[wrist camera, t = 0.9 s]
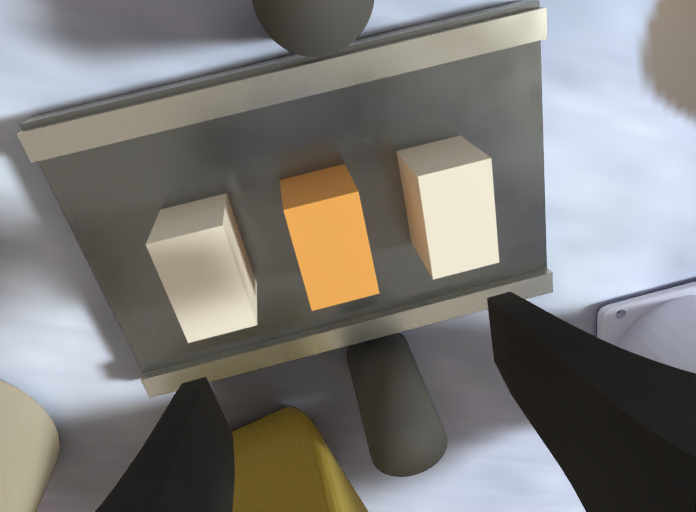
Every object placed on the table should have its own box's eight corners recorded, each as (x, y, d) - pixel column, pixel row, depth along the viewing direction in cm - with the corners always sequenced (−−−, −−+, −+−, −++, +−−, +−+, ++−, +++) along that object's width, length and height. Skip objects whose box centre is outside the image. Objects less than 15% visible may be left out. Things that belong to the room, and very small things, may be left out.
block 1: (226, 193, 20) (222, 225, 17) (256, 283, 22) (257, 325, 19) (160, 209, 20) (145, 244, 17) (196, 298, 22) (188, 342, 19)
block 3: (460, 135, 20) (491, 157, 18) (469, 229, 22) (499, 262, 19) (396, 151, 20) (417, 176, 17) (411, 244, 22) (432, 279, 19)
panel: (523, -1, 20) (546, 1, 18) (535, 277, 25) (552, 295, 24) (32, 116, 19) (13, 127, 17) (157, 375, 24) (151, 401, 23)
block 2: (344, 164, 20) (358, 191, 17) (364, 256, 22) (379, 293, 19) (279, 179, 20) (283, 210, 17) (304, 271, 22) (311, 311, 19)
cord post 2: (403, 320, 25) (442, 409, 20) (412, 369, 27) (451, 464, 21) (341, 336, 25) (364, 431, 20) (353, 384, 26) (378, 484, 21)
